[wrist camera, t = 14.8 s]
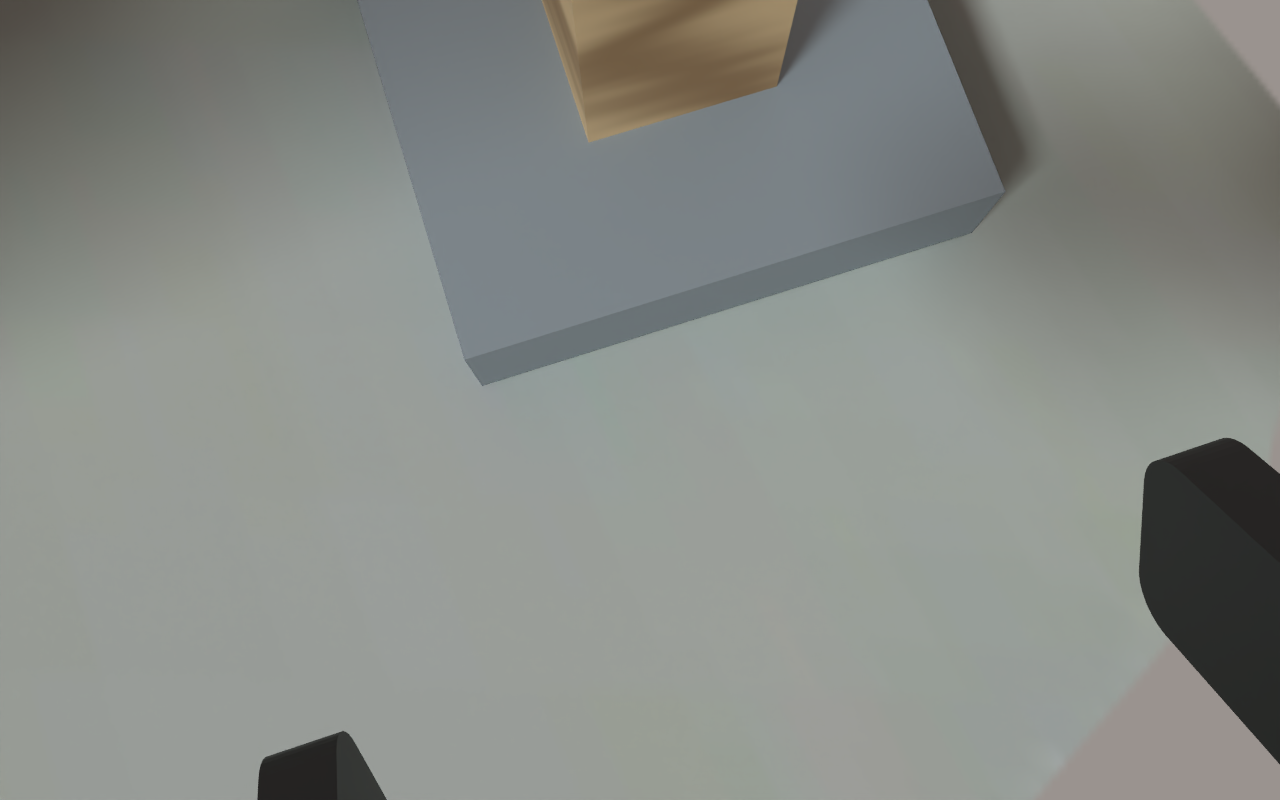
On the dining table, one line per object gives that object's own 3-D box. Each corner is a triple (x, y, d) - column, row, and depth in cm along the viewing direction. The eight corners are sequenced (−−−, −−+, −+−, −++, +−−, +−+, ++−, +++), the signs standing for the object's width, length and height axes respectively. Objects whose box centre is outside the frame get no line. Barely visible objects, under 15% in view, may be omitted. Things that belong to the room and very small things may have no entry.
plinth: (482, 385, 30) (464, 359, 28) (347, -63, 33) (318, -130, 30) (971, 232, 31) (1005, 191, 28) (801, -194, 34) (816, -272, 31)
